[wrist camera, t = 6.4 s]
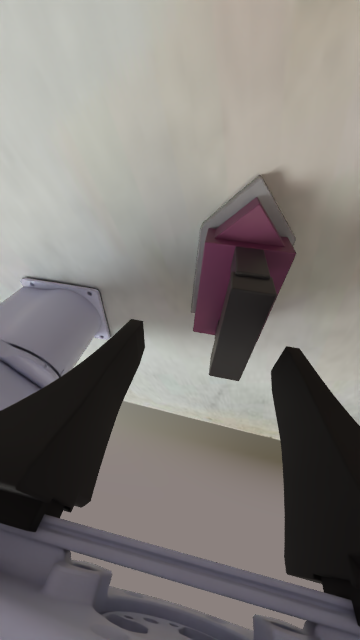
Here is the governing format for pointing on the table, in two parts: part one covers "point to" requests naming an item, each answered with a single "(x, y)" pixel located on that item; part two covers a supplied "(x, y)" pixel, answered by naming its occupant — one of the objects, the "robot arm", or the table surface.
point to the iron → (240, 275)
